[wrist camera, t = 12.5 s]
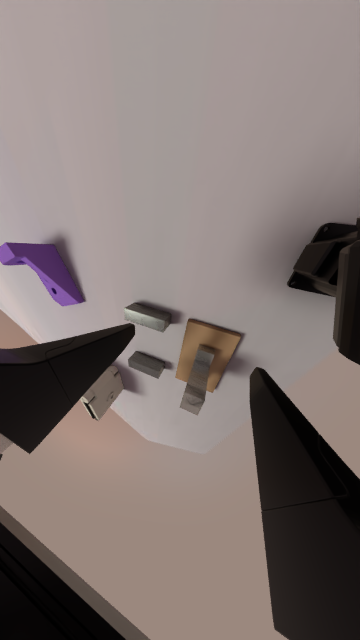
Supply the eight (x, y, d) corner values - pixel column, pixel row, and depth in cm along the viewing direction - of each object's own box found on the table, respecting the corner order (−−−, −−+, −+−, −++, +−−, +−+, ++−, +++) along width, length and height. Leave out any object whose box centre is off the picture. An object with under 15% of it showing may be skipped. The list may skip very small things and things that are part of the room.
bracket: (38, 253, 28) (-10, 253, 23) (55, 244, 26) (5, 242, 20) (68, 304, 33) (35, 314, 27) (85, 301, 30) (52, 312, 25)
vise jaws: (171, 313, 24) (164, 321, 21) (163, 368, 32) (158, 378, 29) (134, 302, 25) (124, 308, 23) (136, 357, 33) (128, 366, 31)
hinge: (100, 357, 39) (65, 385, 31) (112, 358, 37) (79, 389, 29) (117, 387, 45) (91, 418, 36) (129, 390, 43) (105, 423, 35)
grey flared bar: (215, 349, 23) (210, 389, 16) (204, 376, 27) (196, 417, 20) (199, 344, 24) (187, 380, 17) (190, 371, 28) (178, 409, 21)
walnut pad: (240, 334, 21) (240, 337, 20) (212, 388, 29) (212, 392, 28) (189, 318, 23) (187, 321, 22) (176, 374, 31) (175, 377, 30)
